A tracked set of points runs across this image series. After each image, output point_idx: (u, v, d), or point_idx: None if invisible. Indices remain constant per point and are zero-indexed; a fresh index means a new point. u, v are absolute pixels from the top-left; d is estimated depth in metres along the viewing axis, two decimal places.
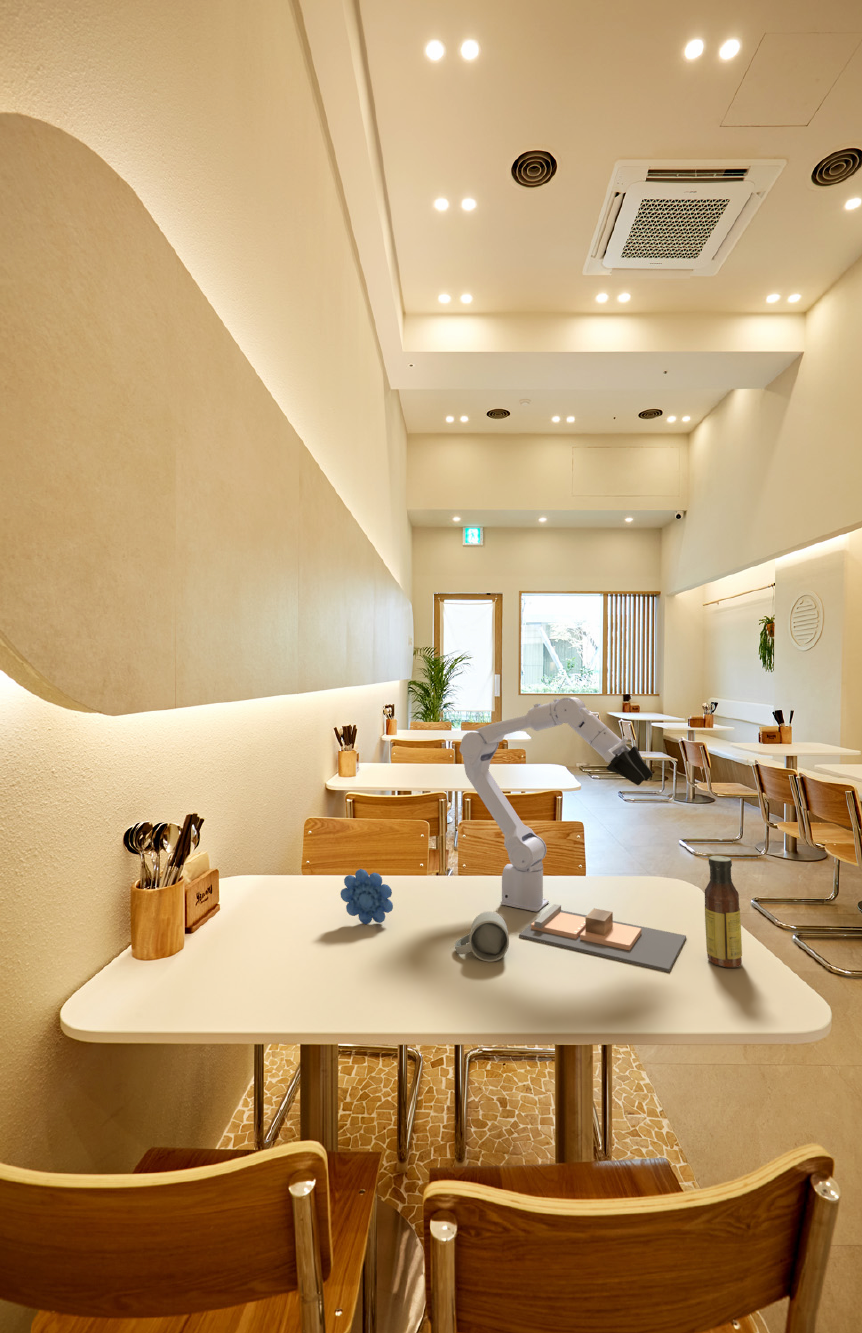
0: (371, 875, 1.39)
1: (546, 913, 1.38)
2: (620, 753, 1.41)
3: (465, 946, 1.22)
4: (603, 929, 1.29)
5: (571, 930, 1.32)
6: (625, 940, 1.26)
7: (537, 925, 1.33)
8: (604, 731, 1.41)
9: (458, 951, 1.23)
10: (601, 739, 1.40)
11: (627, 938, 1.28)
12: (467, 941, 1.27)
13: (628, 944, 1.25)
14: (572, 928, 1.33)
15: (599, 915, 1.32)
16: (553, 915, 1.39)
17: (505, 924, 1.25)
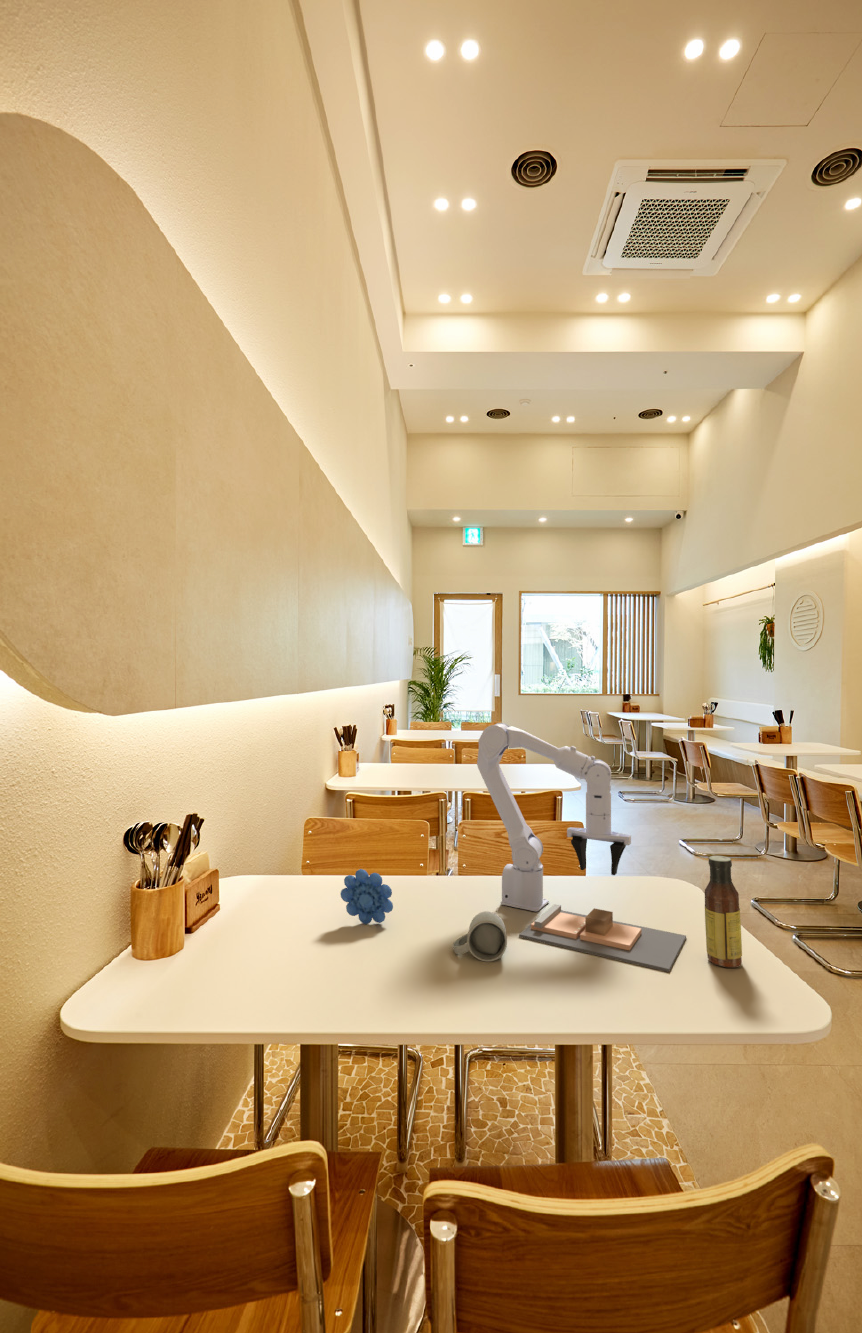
0: (371, 875, 1.39)
1: (546, 913, 1.38)
2: (596, 837, 1.47)
3: (463, 945, 1.22)
4: (603, 929, 1.29)
5: (571, 930, 1.32)
6: (625, 940, 1.26)
7: (537, 925, 1.33)
8: None
9: (456, 951, 1.23)
10: (610, 819, 1.46)
11: (627, 938, 1.28)
12: (465, 941, 1.27)
13: (628, 944, 1.25)
14: (572, 928, 1.33)
15: (599, 915, 1.32)
16: (553, 915, 1.39)
17: (503, 924, 1.25)
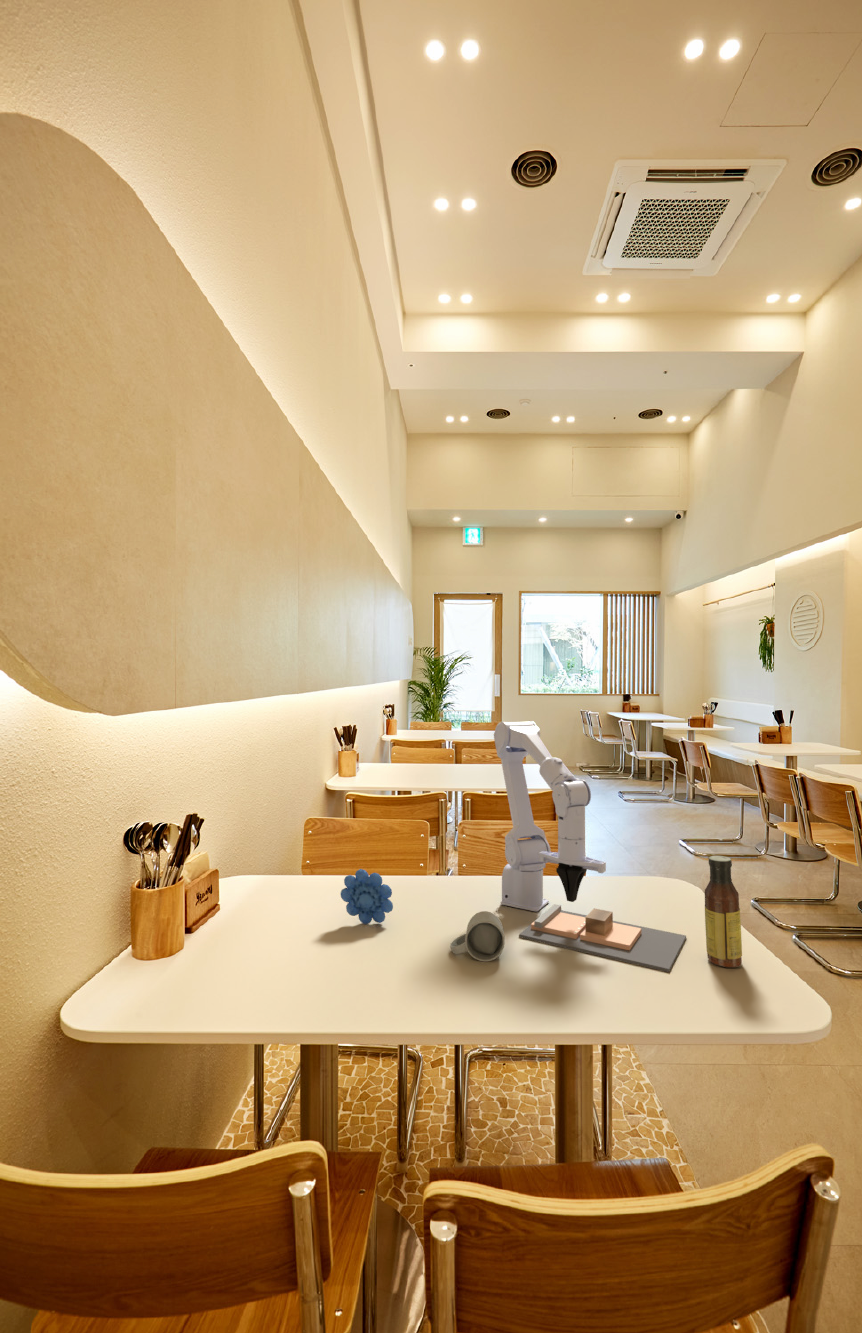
0: (371, 875, 1.39)
1: (546, 913, 1.38)
2: None
3: (461, 945, 1.22)
4: (603, 929, 1.29)
5: (571, 930, 1.32)
6: (625, 940, 1.26)
7: (537, 925, 1.33)
8: None
9: (454, 951, 1.23)
10: (584, 843, 1.35)
11: (627, 938, 1.28)
12: (463, 941, 1.27)
13: (628, 944, 1.25)
14: (572, 928, 1.33)
15: (599, 915, 1.32)
16: (553, 915, 1.39)
17: (501, 924, 1.25)
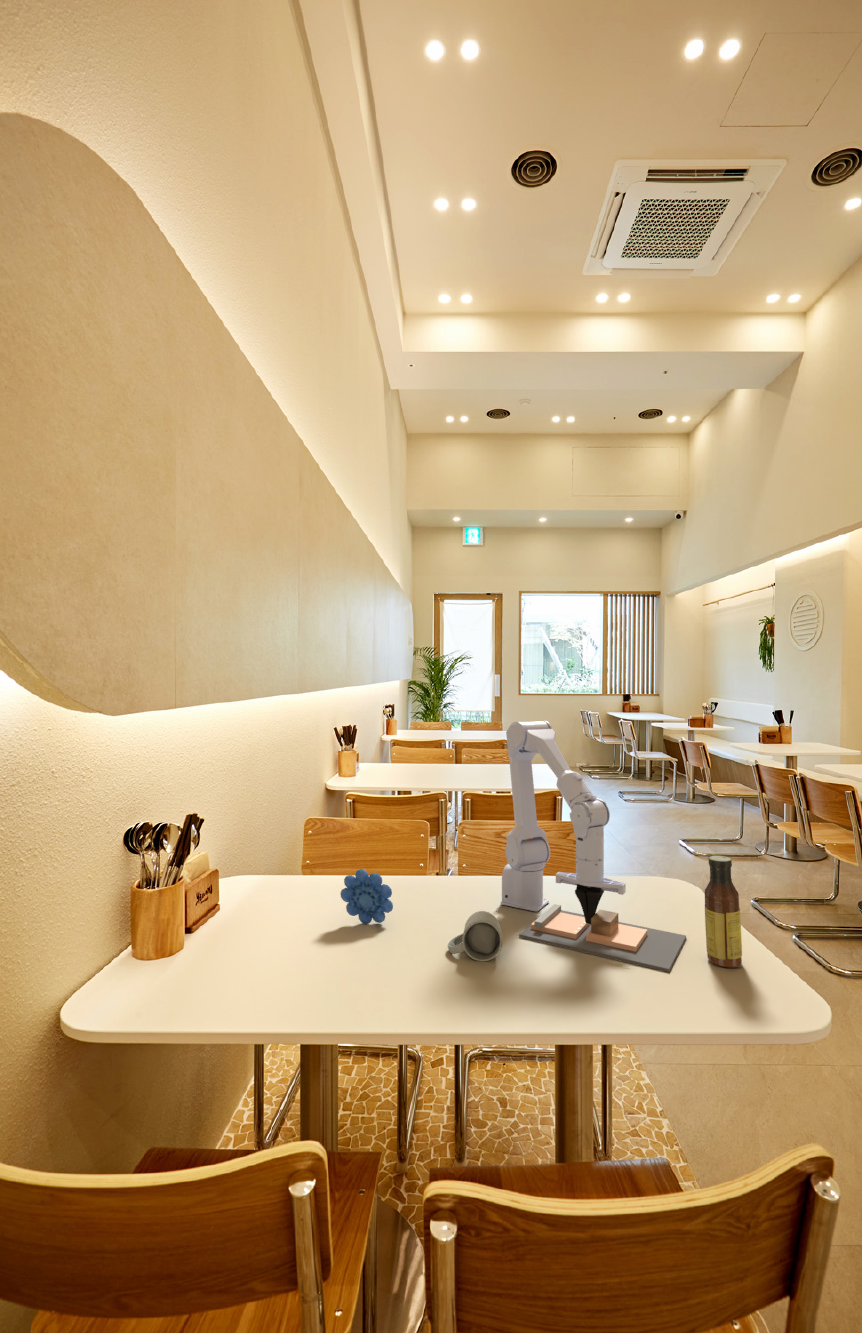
0: (371, 875, 1.39)
1: (546, 913, 1.38)
2: None
3: (458, 945, 1.22)
4: (609, 930, 1.28)
5: (571, 930, 1.32)
6: (632, 941, 1.26)
7: (537, 925, 1.33)
8: None
9: (451, 951, 1.23)
10: (603, 864, 1.33)
11: (633, 939, 1.27)
12: (460, 941, 1.27)
13: (634, 945, 1.24)
14: (572, 928, 1.33)
15: (605, 916, 1.31)
16: (553, 915, 1.39)
17: (498, 924, 1.25)
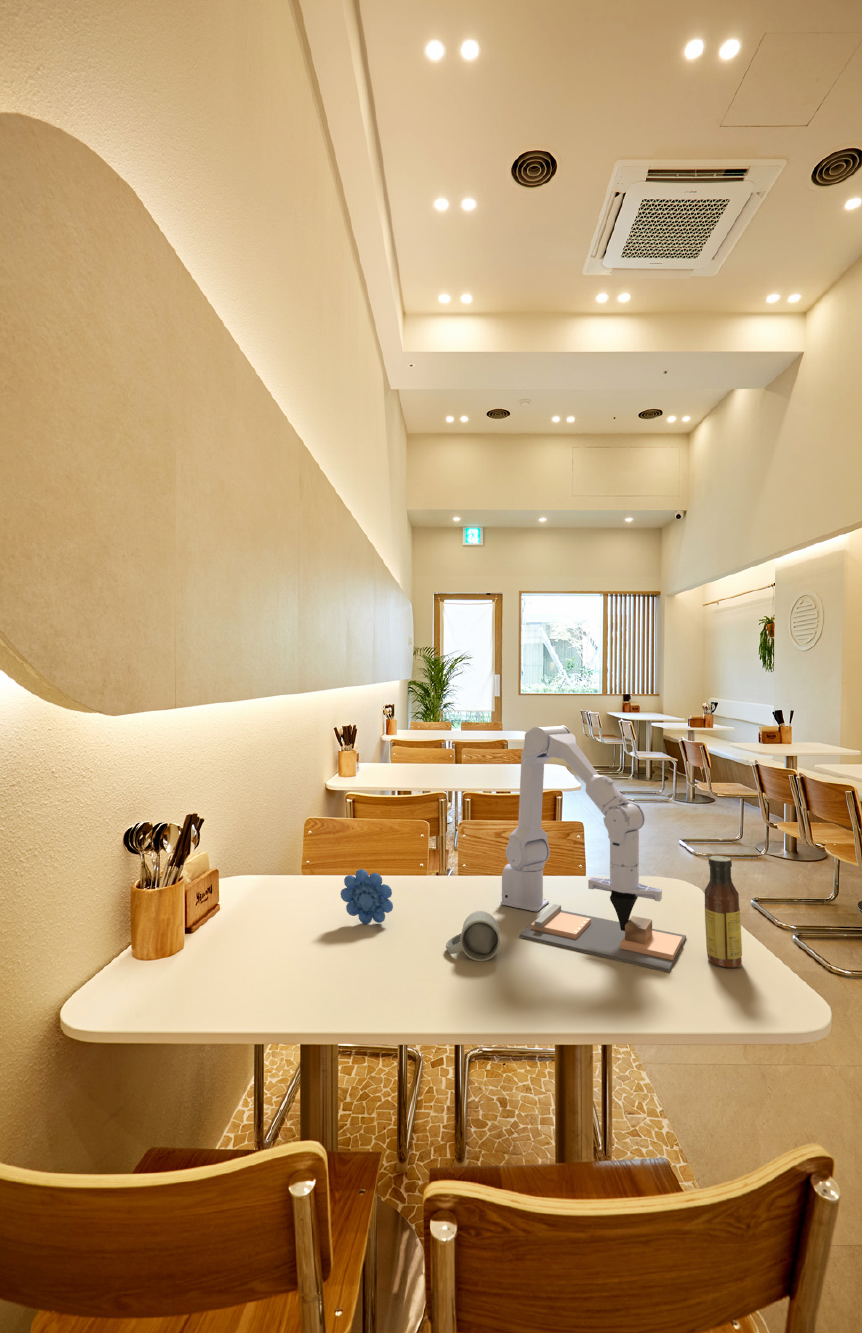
0: (371, 875, 1.39)
1: (546, 913, 1.38)
2: None
3: (456, 945, 1.22)
4: (644, 938, 1.25)
5: (571, 930, 1.32)
6: (668, 949, 1.22)
7: (537, 925, 1.33)
8: None
9: (449, 951, 1.23)
10: (638, 870, 1.29)
11: (669, 947, 1.23)
12: (459, 941, 1.27)
13: (671, 953, 1.20)
14: (572, 928, 1.33)
15: (639, 923, 1.28)
16: (553, 915, 1.39)
17: (496, 924, 1.25)
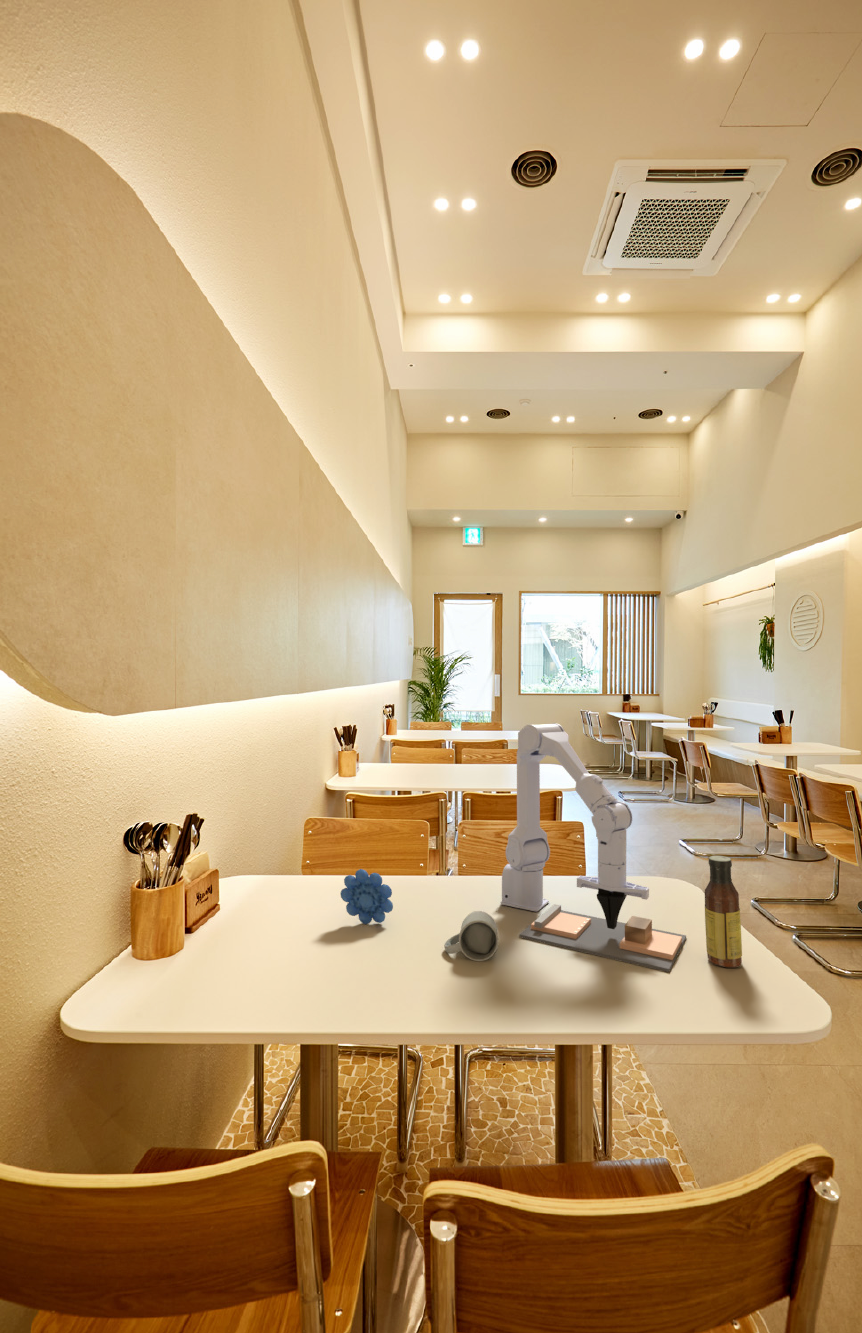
0: (371, 875, 1.39)
1: (546, 913, 1.38)
2: None
3: (455, 945, 1.22)
4: (643, 938, 1.25)
5: (571, 930, 1.32)
6: (667, 949, 1.22)
7: (537, 925, 1.33)
8: None
9: (448, 950, 1.23)
10: None
11: (669, 947, 1.23)
12: (457, 941, 1.27)
13: (671, 953, 1.20)
14: (572, 928, 1.33)
15: (638, 923, 1.28)
16: (553, 915, 1.39)
17: (495, 924, 1.25)
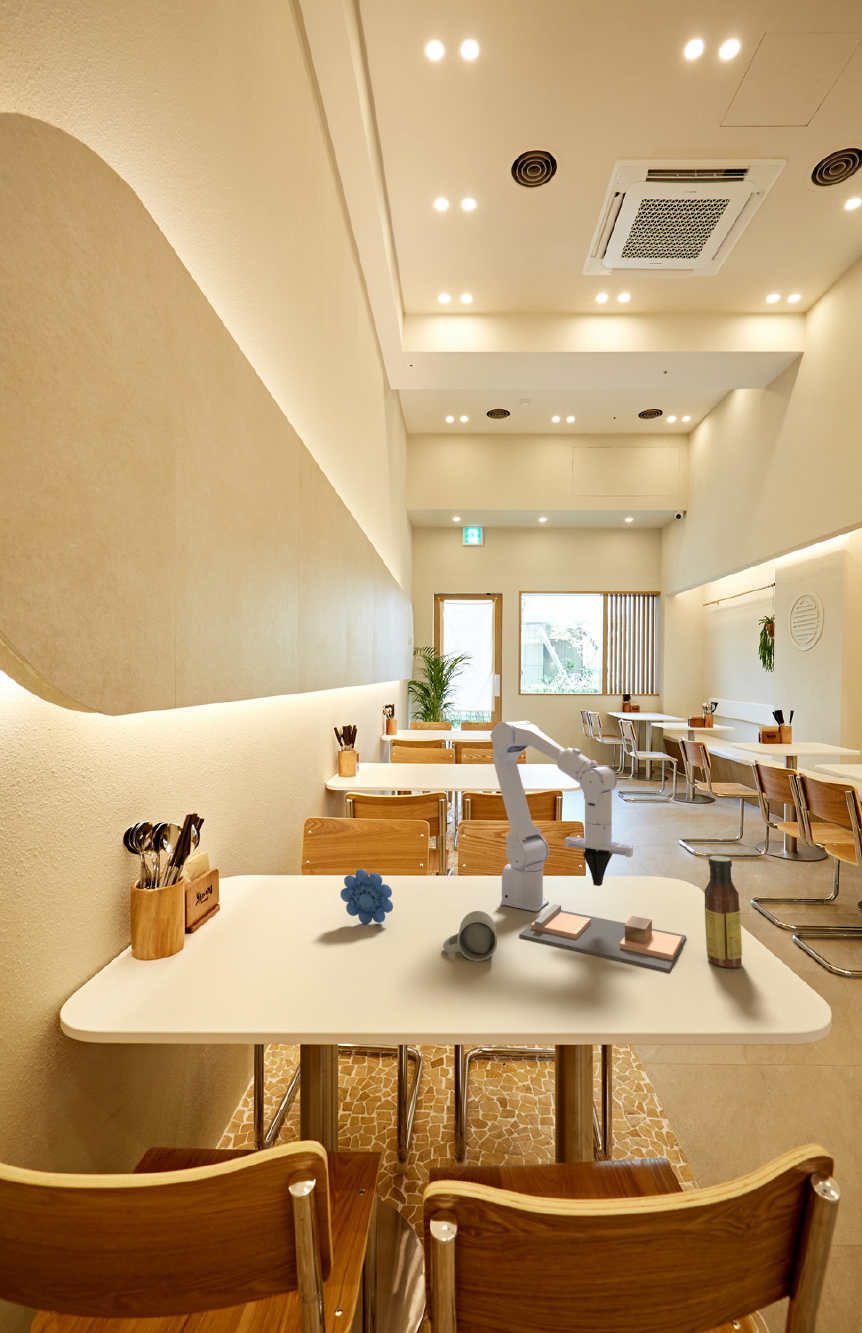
0: (371, 875, 1.39)
1: (546, 913, 1.38)
2: None
3: (454, 945, 1.22)
4: (643, 938, 1.25)
5: (571, 930, 1.32)
6: (667, 949, 1.22)
7: (537, 925, 1.33)
8: None
9: (446, 950, 1.23)
10: (611, 828, 1.37)
11: (669, 947, 1.23)
12: (456, 940, 1.27)
13: (671, 953, 1.20)
14: (572, 928, 1.33)
15: (638, 923, 1.28)
16: (553, 915, 1.39)
17: (494, 924, 1.25)
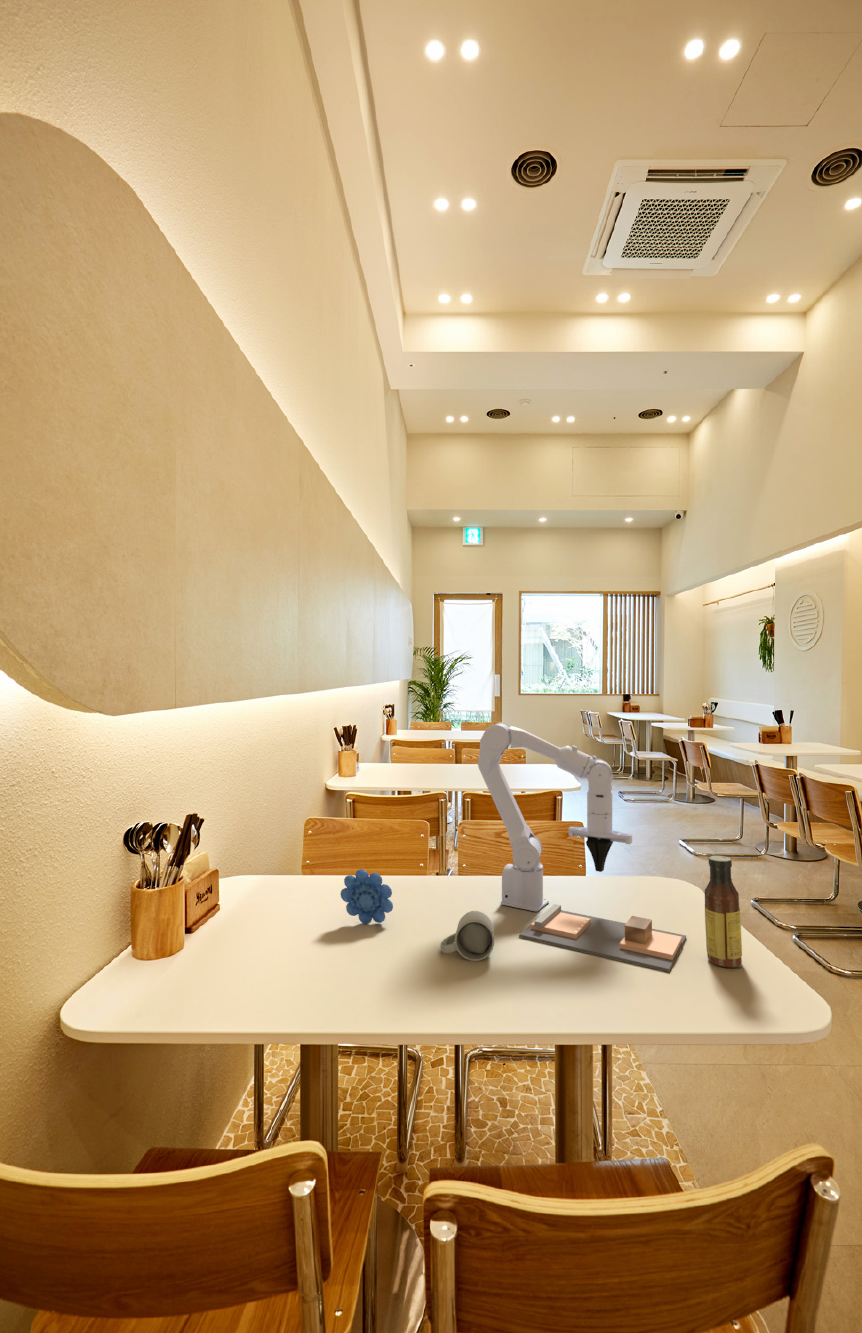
0: (371, 875, 1.39)
1: (546, 913, 1.38)
2: (597, 836, 1.48)
3: (451, 945, 1.22)
4: (643, 938, 1.25)
5: (571, 930, 1.32)
6: (667, 949, 1.22)
7: (537, 925, 1.33)
8: None
9: (444, 950, 1.23)
10: None
11: (669, 947, 1.23)
12: (453, 940, 1.28)
13: (671, 953, 1.20)
14: (572, 928, 1.33)
15: (638, 923, 1.28)
16: (553, 915, 1.39)
17: (491, 923, 1.25)
